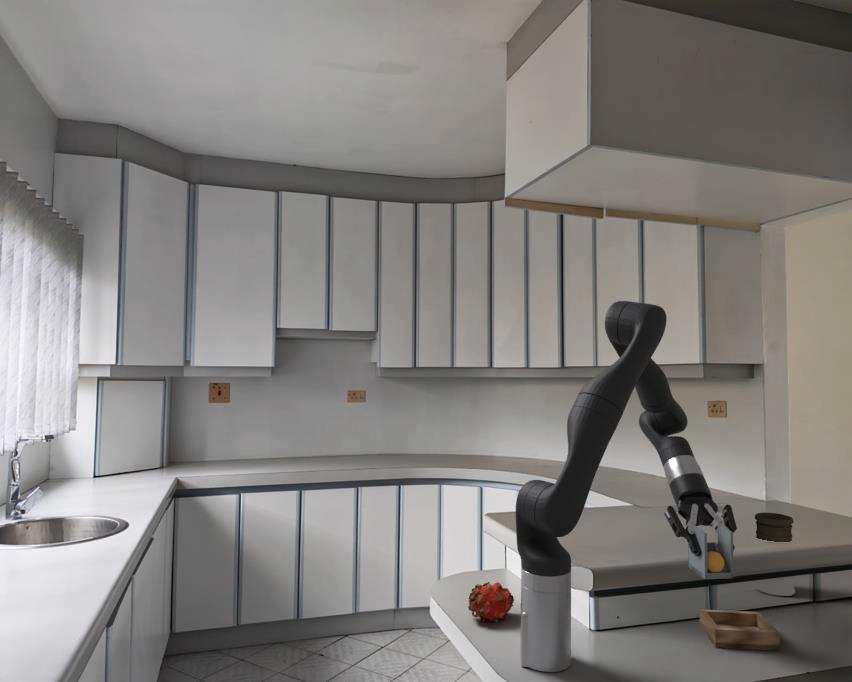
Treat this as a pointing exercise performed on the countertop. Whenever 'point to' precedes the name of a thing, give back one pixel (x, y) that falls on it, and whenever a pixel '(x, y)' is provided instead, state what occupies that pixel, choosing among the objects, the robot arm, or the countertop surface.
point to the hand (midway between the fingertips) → (714, 553)
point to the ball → (714, 562)
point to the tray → (739, 630)
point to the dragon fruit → (490, 601)
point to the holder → (721, 547)
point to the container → (774, 527)
